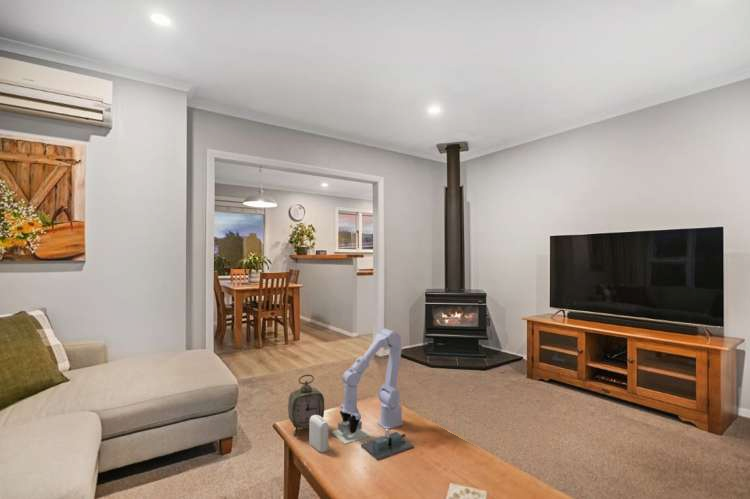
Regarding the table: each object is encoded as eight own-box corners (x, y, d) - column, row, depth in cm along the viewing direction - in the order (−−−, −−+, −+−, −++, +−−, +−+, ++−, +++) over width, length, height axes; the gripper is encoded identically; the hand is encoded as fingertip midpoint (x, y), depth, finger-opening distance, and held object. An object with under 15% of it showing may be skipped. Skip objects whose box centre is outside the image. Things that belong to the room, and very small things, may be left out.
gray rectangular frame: (355, 424, 170) (356, 417, 170) (361, 428, 165) (361, 422, 165) (338, 429, 165) (338, 422, 165) (343, 434, 160) (343, 427, 160)
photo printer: (307, 443, 157) (308, 413, 157) (316, 440, 160) (317, 411, 160) (320, 454, 149) (320, 422, 149) (329, 450, 152) (330, 419, 152)
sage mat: (354, 425, 173) (354, 425, 173) (368, 436, 163) (368, 436, 163) (331, 432, 167) (331, 431, 167) (344, 444, 157) (344, 443, 157)
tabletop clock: (291, 438, 161) (292, 380, 161) (286, 429, 169) (287, 373, 169) (324, 431, 168) (324, 375, 168) (317, 422, 176) (318, 369, 176)
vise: (396, 435, 165) (396, 418, 165) (413, 447, 155) (413, 429, 155) (361, 446, 155) (361, 428, 155) (377, 460, 145) (377, 440, 145)
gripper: (334, 395, 169) (334, 425, 169) (350, 406, 157) (350, 439, 157) (348, 392, 173) (348, 421, 173) (365, 403, 161) (364, 434, 161)
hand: (350, 429), depth 165 cm, fingers closed on gray rectangular frame, 5 cm apart
